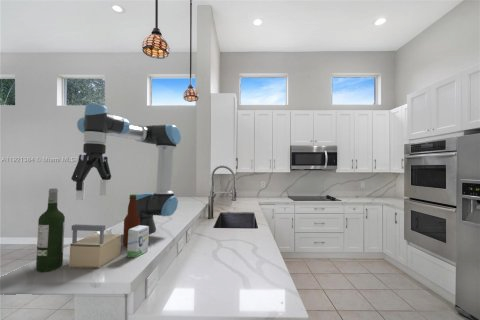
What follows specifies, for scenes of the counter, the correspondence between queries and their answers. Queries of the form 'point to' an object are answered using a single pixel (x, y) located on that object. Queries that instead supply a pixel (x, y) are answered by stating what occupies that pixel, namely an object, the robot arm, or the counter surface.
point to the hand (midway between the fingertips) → (92, 197)
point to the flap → (92, 236)
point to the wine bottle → (50, 236)
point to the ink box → (137, 241)
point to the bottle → (130, 218)
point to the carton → (94, 254)
